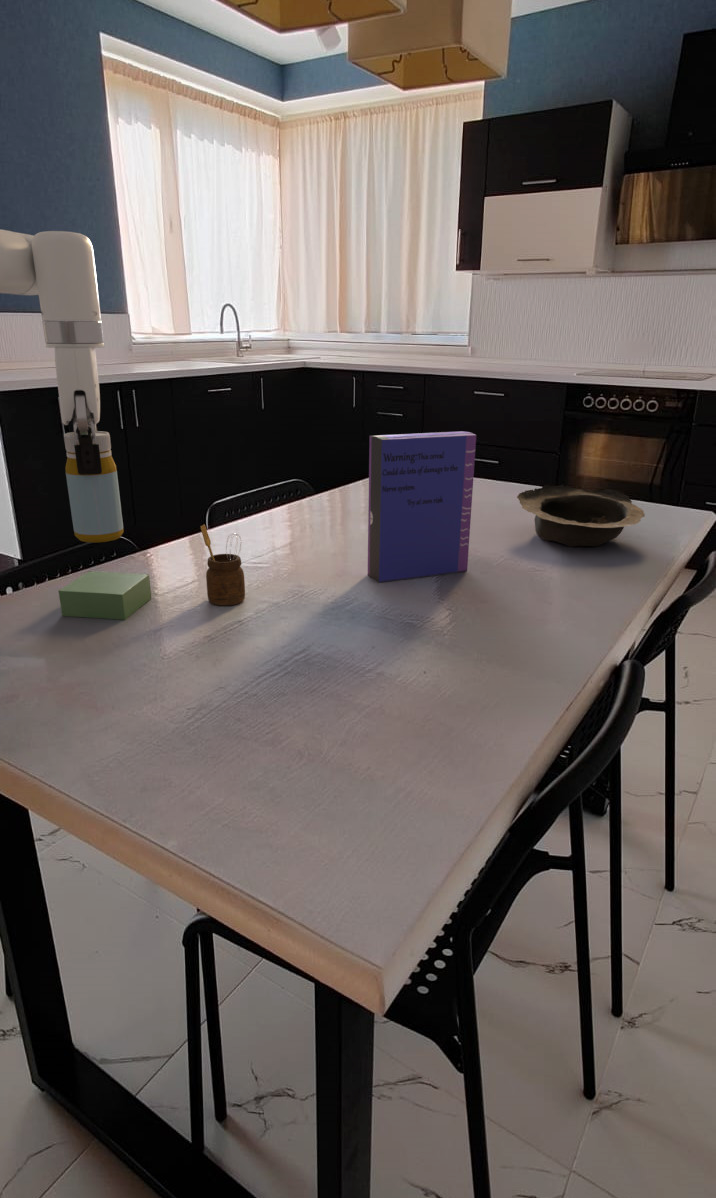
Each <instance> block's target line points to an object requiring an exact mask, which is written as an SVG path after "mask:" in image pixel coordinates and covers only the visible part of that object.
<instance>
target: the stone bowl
mask: <svg viewBox="0 0 716 1198" xmlns="http://www.w3.org/2000/svg"><path fill="white" fill-rule="evenodd" d="M516 498H517V500H518V501H519V504H520V505H521V509H523V510H525V511H526V512H527V513H530V514H533V515H535V516H534V528H535V534H536V535H537V537H539V538H541V539H543V540H544V541H549V542H550V541H551V542H552V541H555V542H557V543H560V544H563V545H565V546H568V547H571V548H575V547H579V546H580V547H599V546H602V545H603V544H604V543H608V542H610V541H612V540H615V539H617V538H618V537H619V536H620V535H621V533H622V532H623V531H624V528H625V527H629V526H632V525H633V526H634V525H637V524H639V523H640V522H641V519H642V518H645V517H646V515H645V511H644V510H643V509H642V508H641V507H639V506H638V505H636V504H633V503H632V502H633V501H632V499H630V497H629V495H626V494H624V493H622V492H621V491H619V490H617V489H609V488H604V489H603V490H601V489H599V490H590V491H588V490H585V489H579V488H576V487H572V486H569V485H565V486H564V484H563V483H562V484H560V485H550V484H544V485H543V486H542V487H539V488H534V489H528V490H524V491H521V492H519V494H517V496H516Z"/></svg>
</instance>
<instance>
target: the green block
mask: <svg viewBox="0 0 716 1198" xmlns="http://www.w3.org/2000/svg"><path fill="white" fill-rule="evenodd" d="M150 579H151V578H150V574H147V573H133V572H132V573H131V572H129V573H128V572H113V571H112V572H110V571H96V570H95V571H94V570H92V571H91V570H89V571H88V572H86V573H85V574H83V575H82V576H80V577H78V578H77V579H75V580H73V581H72V582H70V583H68V584H67V585H64V587H62V588H60V589H59V590H58V597H59V605H60V609H61V610H60V612H61V616H62V617H74V618H88V619H103V620H104V619H105V620H119V621H120V620H121V621H125V620H127V619H128V618H129V617H130V616H132V615H133V614H135V612H137V611H138V610H140V608H141V607H143V606H144V605H145V604H147V603H148V602H149V601H150V600H151V599H152V588H151V580H150Z"/></svg>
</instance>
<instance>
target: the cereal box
mask: <svg viewBox="0 0 716 1198" xmlns="http://www.w3.org/2000/svg"><path fill="white" fill-rule="evenodd" d="M368 444H369V449H368V451H369V452H368V454H369V455H368V513H367V515H368V517H367V520H368V521H367V532H368V533H367V576H368V577H369V578H371V579H373V580H374V581H376V582H377V583H378V584H380V583H387V582H395V581H404V580H412V579H419V578H428V577H435V576H444V575H450V574H459V573H466V572H468V563H469V549H470V535H471V521H472V519H471V518H472V508H473V507H472V505H473V491H474V490H473V489H474V478H475V477H474V475H475V462H476V448H477V447H476V445H477V434H475V433H473V432H470V431H462V430H461V431H441V432H440V431H439V432H422V433H421V432H420V433H419V432H418V433H401V434H400V433H399V434H379V435H369V443H368Z"/></svg>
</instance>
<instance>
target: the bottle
mask: <svg viewBox="0 0 716 1198" xmlns="http://www.w3.org/2000/svg"><path fill="white" fill-rule="evenodd" d="M95 433H96V442H97V444H99V451H100V459H101V467H102V473H101V474H88V475H80V474H78V470H77V463H76V455H75V448H74V445H76V444H75V435H74V431H71V432H65V433H64V434H63V441H64V447H65V451H66V457H67V458H66V463H65V467H64V468H65V477H66V485H67V491H68V499H69V506H70V507H69V508H70V512H71V513H70V514H71V520H72V526H73V527H72V528H73V532H74V536H75V537H76V538H77V539H78V540H79V541H81V542H84V543H92V544H93V543H94V544H95V543H106V542H112V541H116V540H119V539H120V538H121V537H122V535H123V534H124V532H125V531H124V522H123V514H122V504H121V496H120V494H121V493H120V486H119V479H118V477H119V476H118V470H117V464H116V463H115V460H114V458H113V456H112V450H111V449H112V443H111V435H110V432H108V431H100V430H97V431H95ZM91 436H92V435H91Z"/></svg>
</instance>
